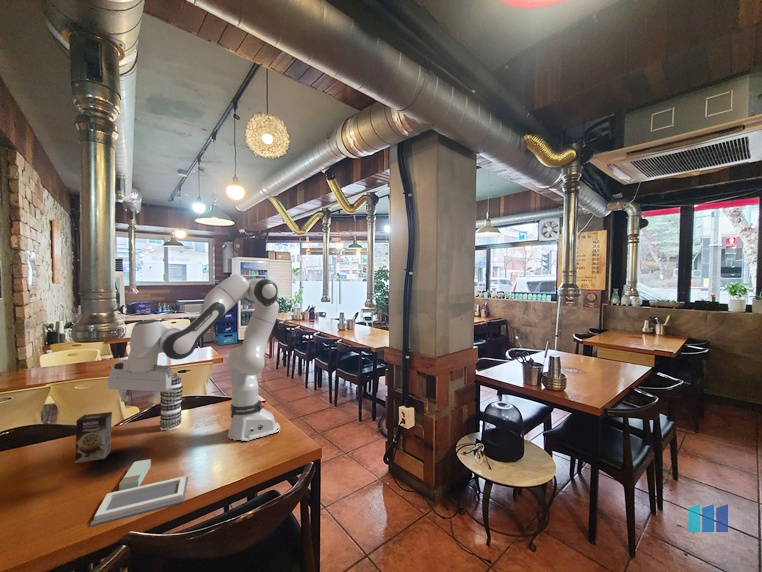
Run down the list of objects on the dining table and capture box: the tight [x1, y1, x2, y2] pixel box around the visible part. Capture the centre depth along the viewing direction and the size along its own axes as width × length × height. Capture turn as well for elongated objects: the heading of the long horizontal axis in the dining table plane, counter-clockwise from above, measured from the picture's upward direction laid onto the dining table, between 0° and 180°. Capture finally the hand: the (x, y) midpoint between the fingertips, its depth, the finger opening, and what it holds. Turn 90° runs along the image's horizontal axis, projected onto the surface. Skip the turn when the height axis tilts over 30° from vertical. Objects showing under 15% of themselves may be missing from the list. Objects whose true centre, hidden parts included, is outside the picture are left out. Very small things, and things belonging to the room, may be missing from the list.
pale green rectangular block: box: [118, 458, 152, 491], centre depth 109 cm, size 5×14×3 cm, turn 23°
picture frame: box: [89, 475, 189, 527], centre depth 98 cm, size 22×14×2 cm, turn 117°
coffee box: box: [74, 411, 113, 464], centre depth 122 cm, size 9×6×16 cm
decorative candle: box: [159, 372, 184, 431], centre depth 149 cm, size 9×9×25 cm
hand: (138, 402), depth 114 cm, fingers open, 8 cm apart
